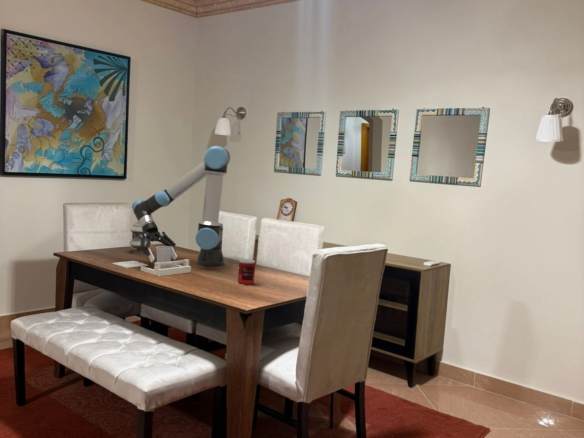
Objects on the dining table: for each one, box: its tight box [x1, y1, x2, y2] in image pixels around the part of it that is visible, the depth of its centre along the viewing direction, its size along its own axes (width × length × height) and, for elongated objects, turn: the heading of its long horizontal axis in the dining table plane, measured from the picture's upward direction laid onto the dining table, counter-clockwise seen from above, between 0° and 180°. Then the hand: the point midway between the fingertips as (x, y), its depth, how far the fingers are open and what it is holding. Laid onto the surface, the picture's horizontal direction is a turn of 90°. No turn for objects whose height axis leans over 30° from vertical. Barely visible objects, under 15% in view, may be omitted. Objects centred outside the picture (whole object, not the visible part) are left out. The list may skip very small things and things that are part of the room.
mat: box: [112, 260, 149, 269], centre depth 282 cm, size 13×13×1 cm
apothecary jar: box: [129, 221, 152, 255], centre depth 318 cm, size 12×12×18 cm
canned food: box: [237, 258, 256, 286], centre depth 256 cm, size 8×8×11 cm
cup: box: [155, 245, 173, 269], centre depth 272 cm, size 8×8×12 cm
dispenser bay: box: [140, 258, 192, 277], centre depth 271 cm, size 16×20×6 cm
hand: (164, 259), depth 272 cm, fingers open, 13 cm apart
